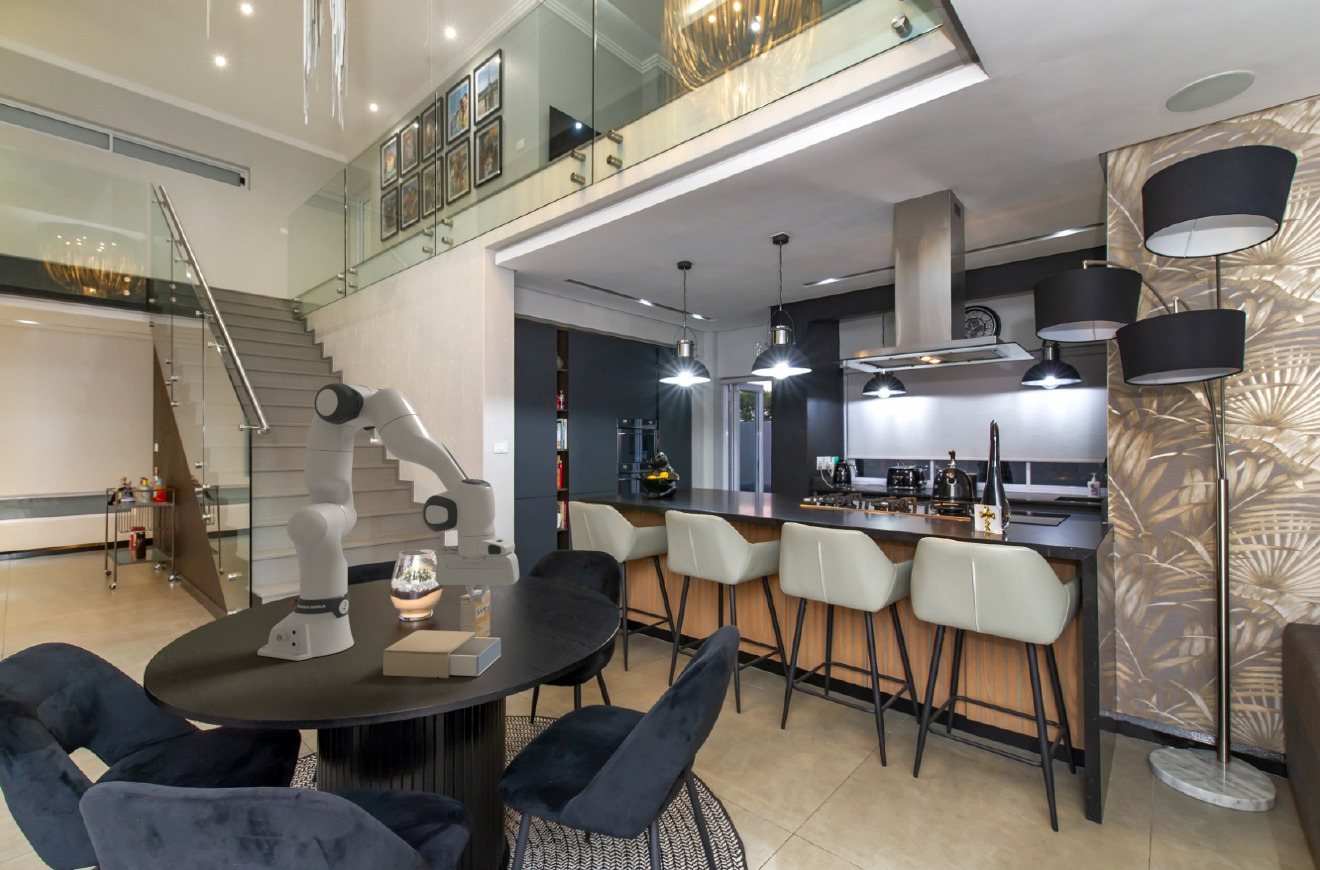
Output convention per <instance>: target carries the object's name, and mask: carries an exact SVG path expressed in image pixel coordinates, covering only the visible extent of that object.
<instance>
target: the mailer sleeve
mask: <svg viewBox="0 0 1320 870" xmlns="http://www.w3.org/2000/svg"><path fill="white" fill-rule="evenodd" d="M471 637H476V632H463V631H461V630H460V631H459V630H458V631H456V630H455V631H454V630H431V629H430V630H427V629H417V630H415V631H414V632H412V633H410V634H409V635H408V636H407V635H406V636H405V637H403V638H402V639H400V640H399V641H397V642H395V643H393V644H391V645H390V646H388V647H386V648H384V649H383V650H382V655H383V656H382V657H383V658H382V669H383V670H382V675H383V676H391V677H392V676H394V677H397V676H398V677H414V678H415V677H416V678H417V677H419V678H437V677H439V678H440V679H448V678H450V675H449V654H450V653H451V652H452V651H454V650H455V649H456V648H458V647H459V646H461V645H462V644H463V643H465V642H466V641H467V640H469V639H470V638H471ZM439 678H438V679H439Z"/></svg>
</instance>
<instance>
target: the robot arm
mask: <svg viewBox="0 0 1320 870" xmlns="http://www.w3.org/2000/svg"><path fill="white" fill-rule="evenodd" d="M314 410H315V413H316V414H314V416H313V418H312V420H311V422H310V426H309V431H308V436H307V441H306V450H305V463H304V475H303V480H304V482H305V484H306V486H307V489H308V493H309V494H308V495H309V504H308V505H305V506H303V507H302V508H299V510H297V511H296V512H295V513H294V514H292V515H291V517H290V518H289V520H288V521H287V526H286V530H287V531H286V532H287V535H288V537H289V539H290V540H291V541H292V542H293V545H294V548H295V553H296V557H297V560H298V566H299V596H298V597H296V598H295V599H293V600H291V601H289V602H290V604H289V606H294V607H293V609H292V611H291V612H290V613H289V614H288V615H287V616H286V617H284V618H283V619H282V620H280V621H279V622H278V623H277V624H275V625H273V627H272V628H271V630H270V633H269V636H268V643H267V644H264V645H263V646H261V647H260V648H259V649H257V656H261V657H262V656H263V657H269V658H270V657H271V658H277V659H282V660H283V659H284V660H291V661H303V660H307V659H311V658H315V657H323V656H328V655H329V656H330V655H332V654H333V655H334V654H336V653H339V652H342V651H345V650H347V649H349V648H351V647H353V645H354V644H355V640H354V637H353V635H352V631H351V625H350V618H349V610H350V591H349V590H348V583H349V581H348V574H349V573H348V569H349V568H348V565H349V564H348V561H347V559H345V558H346V557H345V556H344V551H343V546H342V542H341V541H342V538H343V537H345V536H346V535H348V534H349V533H350V532H351V531H352V529H353V528H354V526H355V525H356V523H357V519H358V517H357V516H358V515H357V514H358V513H357V511H356V509H355V503H354V493H353V484H352V482H353V481H352V474H353V462H354V461H353V459H354V449H355V448H354V446H355V444H354V443H355V438H356V434H357V432H359V431H360V430H361V429H363V430H364V431H371V430H374V429H375V430H376V432H377V433H378V436H379V437H380V440H381V441H382V443H383V445H384V447H385V449H386V450H387V451H388V452H389V453H391V455H393V456H394V457H395V458H397V459H399V460H402V461H405V462H410V463H414V464H416V465H420V466H422V467H425V468H427V469H428V470H430V471H432V472H433V473H434V474H435V475H436V476H437V478H438V479H439V481H440V482H441V483H442V485H443V486H444V488H445V489H446V491H443V492H440V493H437V494H434V495H431V496H430V497H428V498H427V500H426V501H425V502H424V505H423V507H422V519H423V523H424V524H425V525H426V527H427V528H428V529H429V530H431V531H432V532H435V533H436V532H437V533H445V532H452V531H457V545H442V546H441V547H439V548H438V549H437V551H436V567H435V581H436V583H437V585H451V586H453V585H454V586H455V585H458V586H459V585H464V586H465V590H466V592H467V594H469V595H470V600H471V603H483V602H484V601H485V594H486V592H487V590H489V589H490V586H511V585H512V586H513V585H514V584H516V583H517V582H518V580H519V579H520V568H519V567H520V566H519V559H518V557H517V554H516V553H514V550H516V549H515V547H516V544H515V542H513V541H511V540H508V539H505V538H501V537H498V536H496V529H495V525H494V521H495V518H496V502H495V493H494V490H493V486H492V485H491V483H490V482H488V481H486V480H483V479H475V478H469V477H468V476H467V474H466V473H465V471H464V469H463V468H462V467H461V466H460V464H459V463H458V461H457V460H456V458H454V456H453V454H452V453H451V452H450V450H449V449H448V448H447V447H446V446H445V445H444V444H443V443H442V442H441V441H440V440H439V439H438V438H437V437H436V436H435V434H433V432H432V431H431V430H430V428H429V427H428V426H427V424H426V422H424V419H423V417H422V416H421V415H420V412H419V411H418V409H417V407H415V405H414V404H413V402H412V401H411V400H410V399H409V397H408V396H407V395H406V394H405V392H403V391H402V390H400V389H398V388H397V387H396V388H395V387H386V388H382V389H381V388H375V387H371V386H367V385H362V384H358V385H357V384H346V383H341V382H340V383H339V382H338V383H335V382H334V383H328V384H325V385H323V386H322V387H320V388H319V390H318V392H317V393H316V395H315V397H314ZM476 586H479V588H480V589H479V590H482V591H481V593H480V594H476V593H475V589H474V588H475V587H476Z"/></svg>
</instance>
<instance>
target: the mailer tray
mask: <svg viewBox="0 0 1320 870" xmlns="http://www.w3.org/2000/svg"><path fill="white" fill-rule="evenodd" d="M501 656H502V638H501V637H487V638H486V637H471V638H470V639H469V640H467V641H466V642H465V643H463V644H462V645H461V646H459V647H458V648H456V649H455V650H454V651H452V652H451V653H450V654H449V676H466V677H469V676H470V677H480V675H482V674H483V673H484V672H485V671H486V670H487V669H488V668H489V667H490V666H492V664H494V663H495V662H496V661H497V660H498V659H499V658H500V657H501Z"/></svg>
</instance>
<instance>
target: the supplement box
mask: <svg viewBox="0 0 1320 870" xmlns="http://www.w3.org/2000/svg"><path fill="white" fill-rule="evenodd" d="M474 591H475V593H476V594H480V593H481V591H482V589H474ZM460 631H463V632H476V637H486V638H490V636H491V590H490V589H488V590H487V592H486V594H485V601H484V602H483V603H471V600H470V595H469V594H468V593H466V594H464V595H461V596H460Z"/></svg>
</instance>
